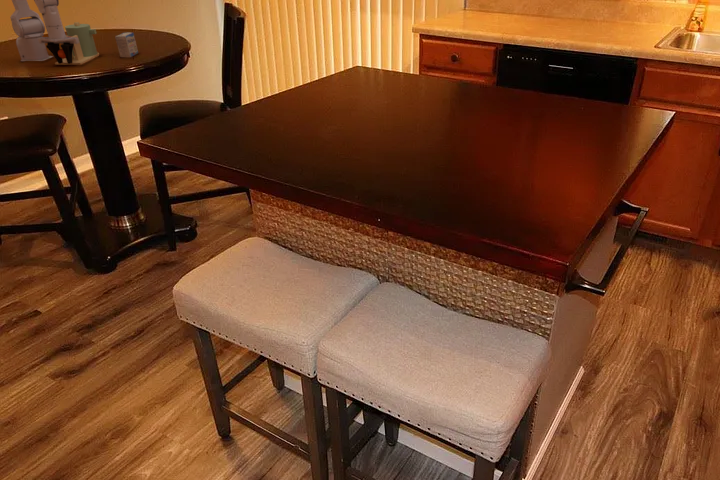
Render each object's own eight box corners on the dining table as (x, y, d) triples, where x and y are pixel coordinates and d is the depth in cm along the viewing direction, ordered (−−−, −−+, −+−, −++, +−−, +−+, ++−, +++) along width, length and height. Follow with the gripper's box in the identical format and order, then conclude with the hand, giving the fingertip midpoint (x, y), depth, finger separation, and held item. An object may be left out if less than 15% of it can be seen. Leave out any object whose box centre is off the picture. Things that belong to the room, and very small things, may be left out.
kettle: (68, 60, 231) (57, 24, 223) (81, 54, 240) (71, 19, 233) (96, 60, 231) (87, 25, 223) (109, 54, 240) (100, 20, 233)
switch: (67, 60, 219) (63, 52, 216) (58, 60, 219) (54, 52, 216) (77, 43, 226) (73, 35, 223) (68, 42, 226) (64, 35, 223)
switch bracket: (81, 66, 223) (73, 39, 217) (55, 65, 223) (47, 39, 217) (95, 58, 233) (88, 33, 227) (71, 58, 233) (63, 33, 228)
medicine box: (131, 58, 233) (125, 36, 229) (120, 58, 233) (114, 36, 229) (138, 54, 240) (133, 32, 235) (128, 54, 240) (123, 32, 235)
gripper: (28, 27, 210) (41, 65, 217) (67, 27, 210) (78, 65, 217) (39, 23, 216) (51, 61, 223) (77, 24, 216) (87, 61, 223)
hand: (65, 63), depth 221 cm, fingers closed on switch, 3 cm apart
